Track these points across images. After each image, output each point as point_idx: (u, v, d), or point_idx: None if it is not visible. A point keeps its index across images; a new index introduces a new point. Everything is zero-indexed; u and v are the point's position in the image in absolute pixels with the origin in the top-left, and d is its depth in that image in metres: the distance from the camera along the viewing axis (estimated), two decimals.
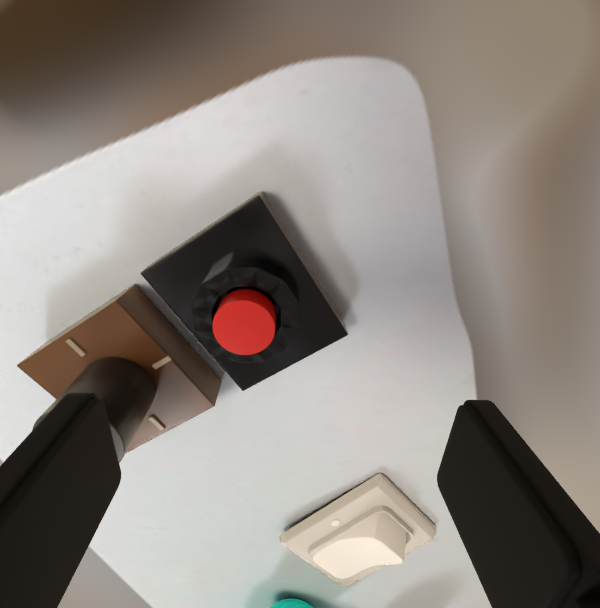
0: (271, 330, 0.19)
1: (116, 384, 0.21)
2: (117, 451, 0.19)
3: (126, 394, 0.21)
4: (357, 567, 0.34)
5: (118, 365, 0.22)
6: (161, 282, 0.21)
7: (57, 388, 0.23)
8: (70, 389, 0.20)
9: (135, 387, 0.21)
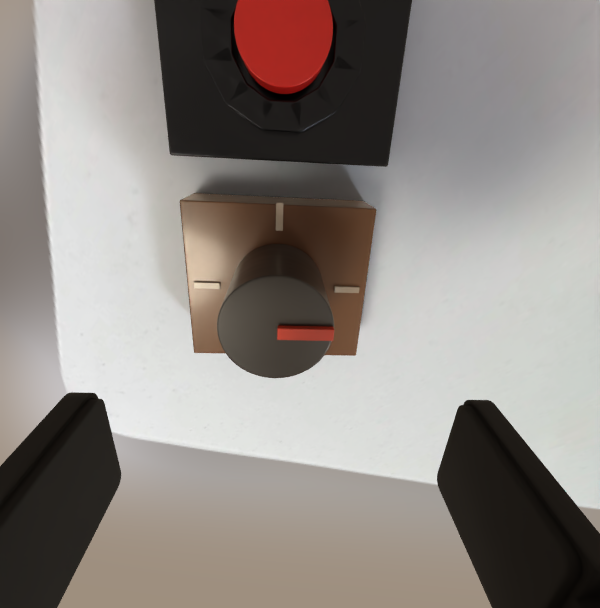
0: None
1: (255, 260, 0.16)
2: (316, 302, 0.14)
3: (272, 258, 0.15)
4: None
5: (247, 256, 0.17)
6: (192, 139, 0.16)
7: None
8: None
9: (277, 252, 0.16)
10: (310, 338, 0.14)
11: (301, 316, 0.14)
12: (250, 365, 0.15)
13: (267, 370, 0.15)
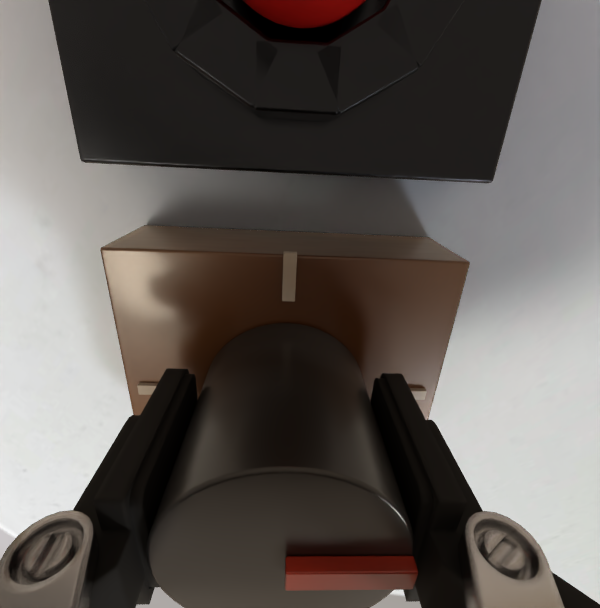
0: None
1: (239, 379, 0.08)
2: (378, 516, 0.06)
3: (274, 378, 0.07)
4: None
5: (229, 351, 0.09)
6: (121, 133, 0.08)
7: None
8: None
9: (286, 355, 0.08)
10: (361, 587, 0.06)
11: (341, 540, 0.06)
12: None
13: None
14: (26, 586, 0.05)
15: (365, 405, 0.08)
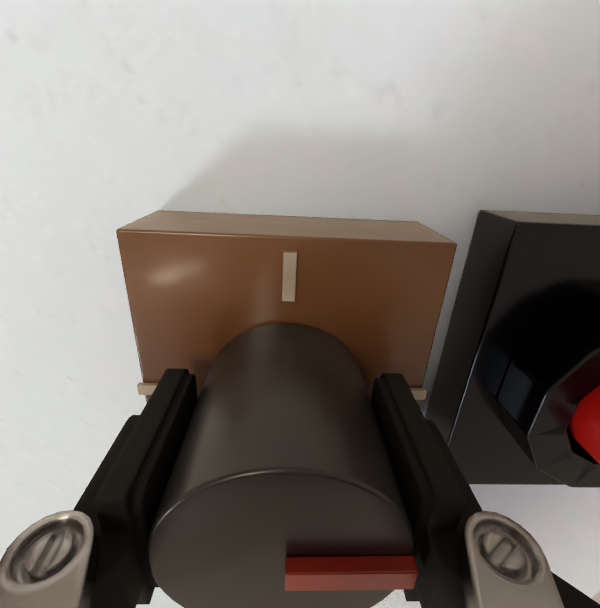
0: None
1: (238, 380, 0.08)
2: (377, 517, 0.06)
3: (273, 378, 0.07)
4: None
5: (228, 352, 0.09)
6: (529, 262, 0.10)
7: (161, 326, 0.10)
8: None
9: (285, 355, 0.08)
10: (361, 587, 0.06)
11: (341, 541, 0.06)
12: None
13: None
14: (27, 586, 0.05)
15: (365, 405, 0.08)
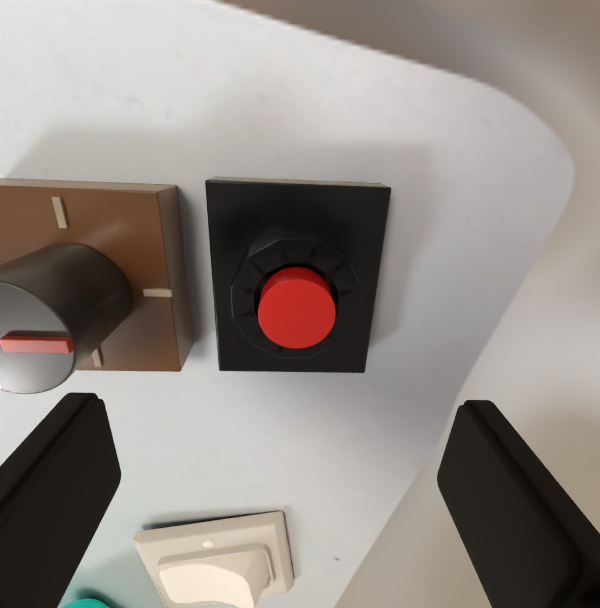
0: (322, 333, 0.16)
1: None
2: (40, 310, 0.12)
3: (22, 259, 0.14)
4: (199, 596, 0.30)
5: None
6: (221, 206, 0.16)
7: None
8: None
9: (44, 252, 0.15)
10: (41, 350, 0.12)
11: (28, 325, 0.12)
12: None
13: (12, 385, 0.13)
14: None
15: (84, 279, 0.14)
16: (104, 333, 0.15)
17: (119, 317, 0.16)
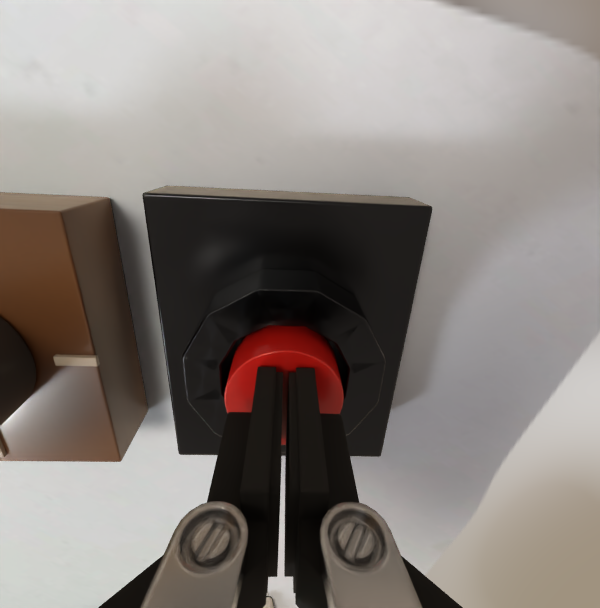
0: None
1: None
2: None
3: None
4: None
5: None
6: (170, 232, 0.11)
7: None
8: None
9: None
10: None
11: None
12: None
13: None
14: (190, 567, 0.05)
15: None
16: None
17: (10, 403, 0.11)
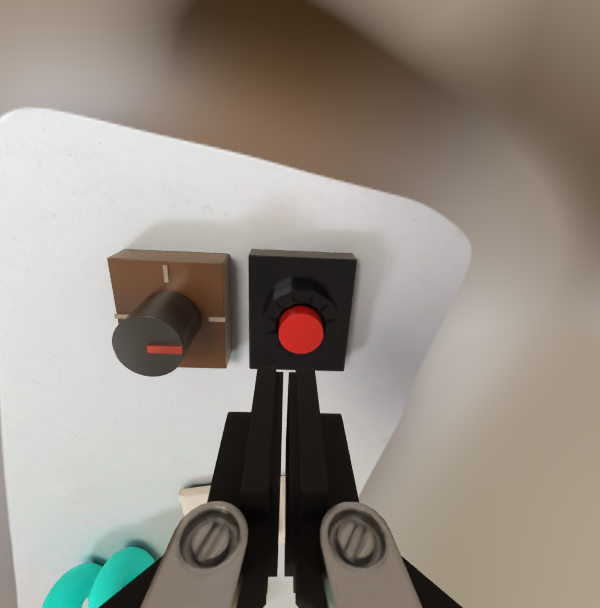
0: (316, 345, 0.27)
1: (143, 303, 0.25)
2: (169, 331, 0.23)
3: (152, 302, 0.25)
4: None
5: (145, 299, 0.27)
6: (257, 269, 0.28)
7: (123, 291, 0.28)
8: None
9: (160, 298, 0.26)
10: (167, 352, 0.24)
11: (161, 339, 0.24)
12: (135, 368, 0.25)
13: (146, 371, 0.25)
14: (191, 566, 0.05)
15: (183, 313, 0.26)
16: (190, 343, 0.27)
17: (195, 334, 0.28)
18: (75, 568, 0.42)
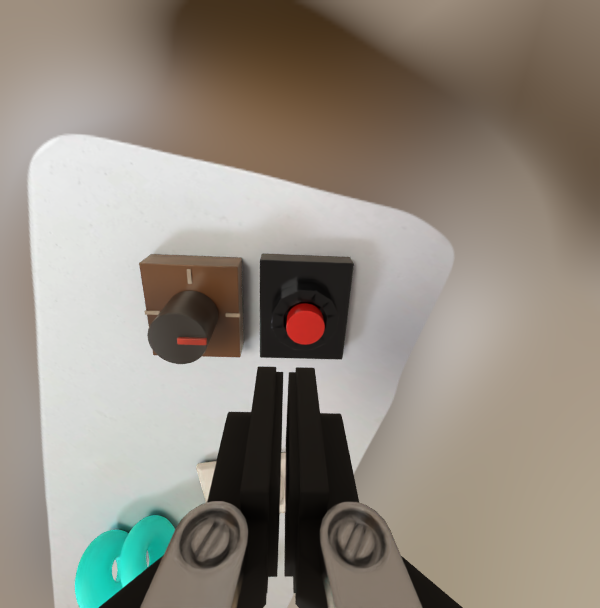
0: (318, 337, 0.32)
1: (171, 302, 0.30)
2: (195, 326, 0.28)
3: (179, 301, 0.30)
4: None
5: (172, 298, 0.31)
6: (267, 271, 0.32)
7: (152, 291, 0.32)
8: None
9: (185, 297, 0.30)
10: (194, 343, 0.28)
11: (189, 332, 0.28)
12: (166, 357, 0.29)
13: (175, 359, 0.29)
14: (190, 567, 0.05)
15: (205, 310, 0.30)
16: (211, 336, 0.31)
17: None
18: (105, 533, 0.48)
